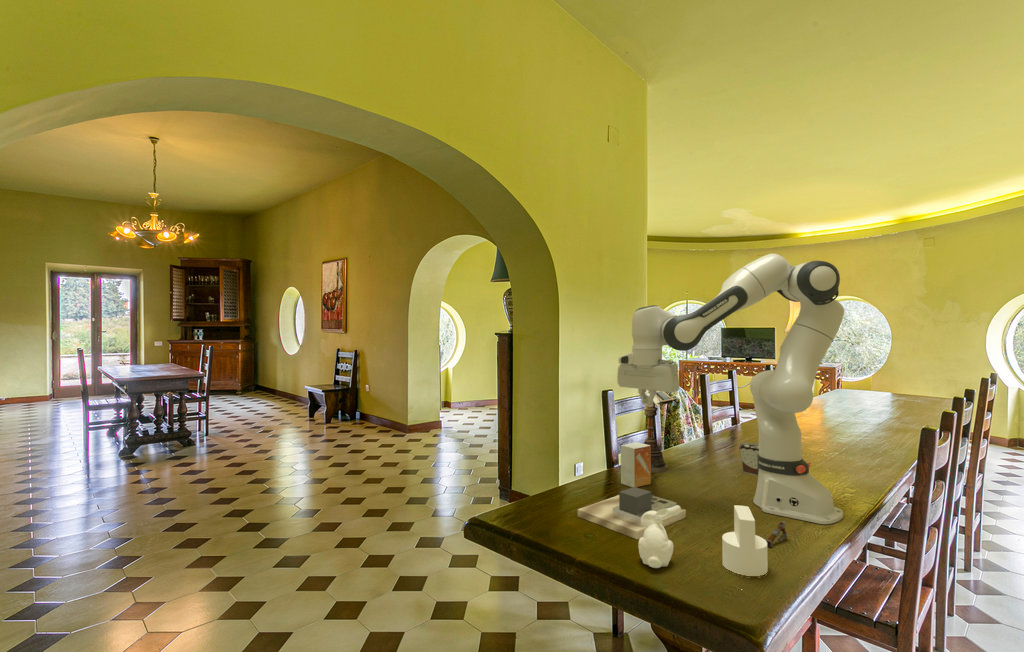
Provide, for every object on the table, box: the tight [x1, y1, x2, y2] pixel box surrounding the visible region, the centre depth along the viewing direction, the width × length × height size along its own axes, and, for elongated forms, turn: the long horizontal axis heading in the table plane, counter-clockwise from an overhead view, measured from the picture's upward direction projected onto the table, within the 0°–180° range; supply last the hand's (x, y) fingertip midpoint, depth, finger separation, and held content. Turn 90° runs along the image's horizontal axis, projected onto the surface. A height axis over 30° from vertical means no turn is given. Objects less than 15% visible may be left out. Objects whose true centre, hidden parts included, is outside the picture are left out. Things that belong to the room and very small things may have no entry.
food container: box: [738, 442, 759, 477], centre depth 178 cm, size 12×6×10 cm, turn 34°
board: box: [577, 494, 687, 540], centre depth 139 cm, size 20×22×2 cm
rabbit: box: [637, 504, 682, 569], centre depth 113 cm, size 12×9×12 cm
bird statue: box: [643, 390, 678, 474], centre depth 185 cm, size 17×13×35 cm
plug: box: [618, 487, 653, 515], centre depth 134 cm, size 6×9×6 cm, turn 130°
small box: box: [620, 441, 652, 488], centre depth 168 cm, size 8×6×13 cm
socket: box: [613, 495, 677, 527], centre depth 136 cm, size 9×16×2 cm, turn 130°
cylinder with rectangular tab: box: [721, 505, 769, 576], centre depth 110 cm, size 9×9×12 cm
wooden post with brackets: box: [763, 521, 789, 548], centre depth 122 cm, size 2×8×5 cm, turn 122°
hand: (647, 404), depth 153 cm, fingers closed
